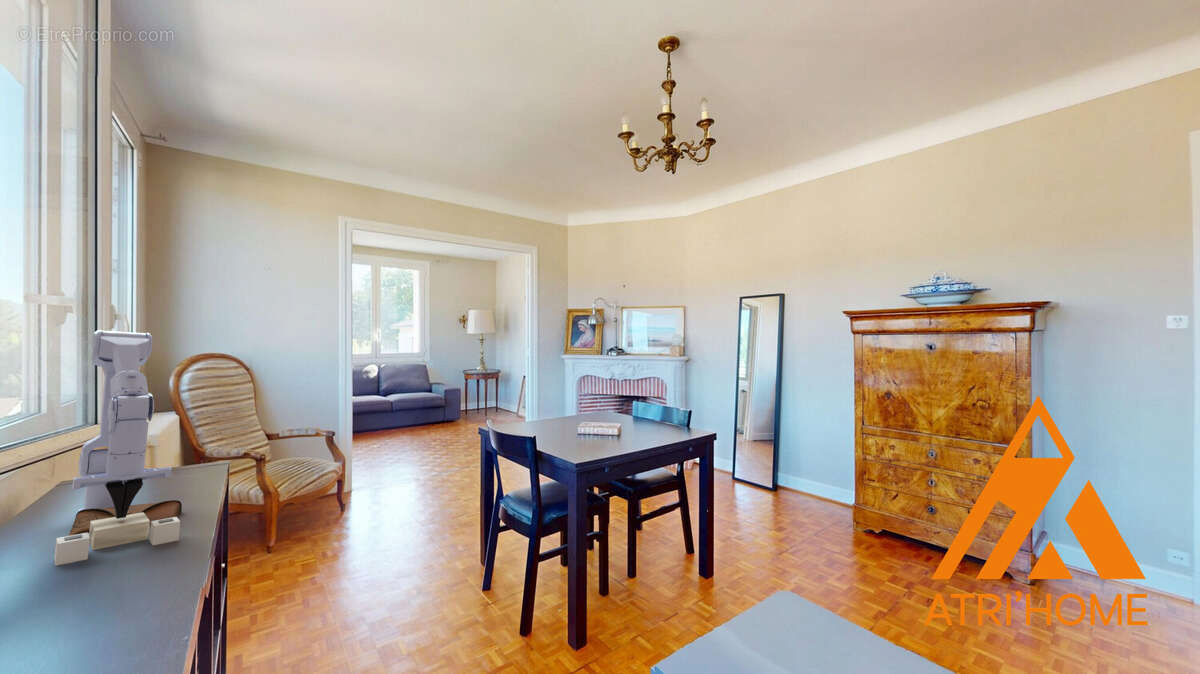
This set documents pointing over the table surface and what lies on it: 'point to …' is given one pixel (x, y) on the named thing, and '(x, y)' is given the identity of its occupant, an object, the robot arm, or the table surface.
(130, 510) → the sunglasses case
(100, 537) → the plain birch block
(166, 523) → the cream block marked 2
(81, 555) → the cream block marked 1
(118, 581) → the table surface
